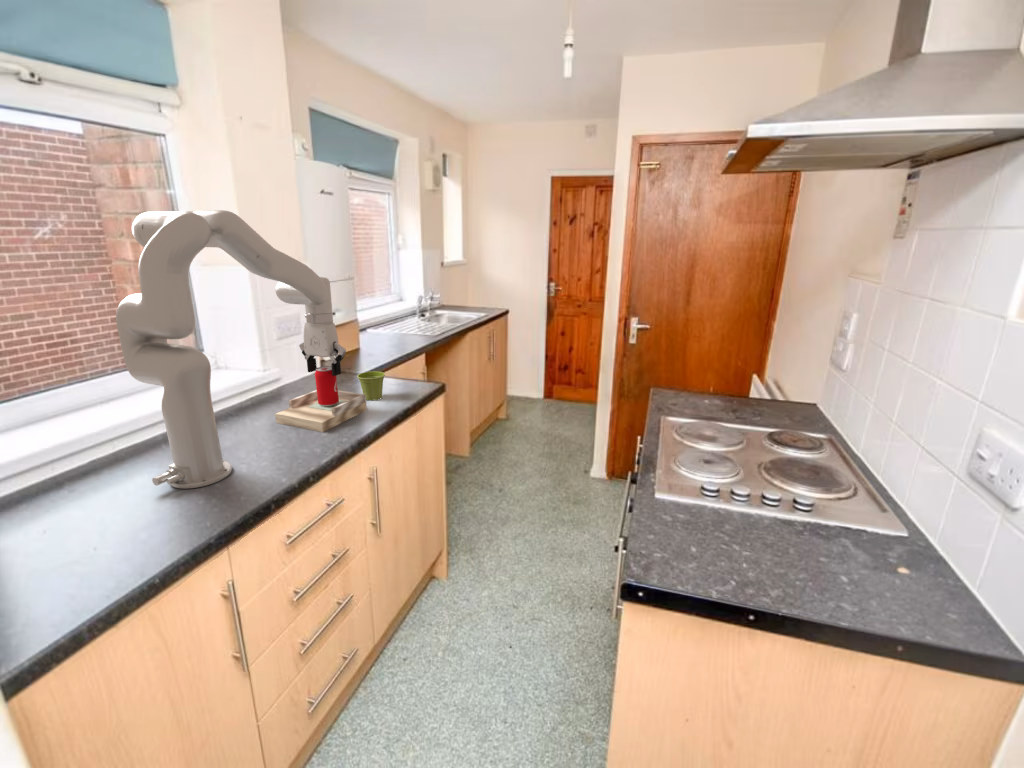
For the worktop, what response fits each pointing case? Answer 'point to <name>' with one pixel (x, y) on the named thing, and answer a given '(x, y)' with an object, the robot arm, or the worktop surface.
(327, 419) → the dock
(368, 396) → the plant pot
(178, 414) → the robot arm
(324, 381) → the beverage can
